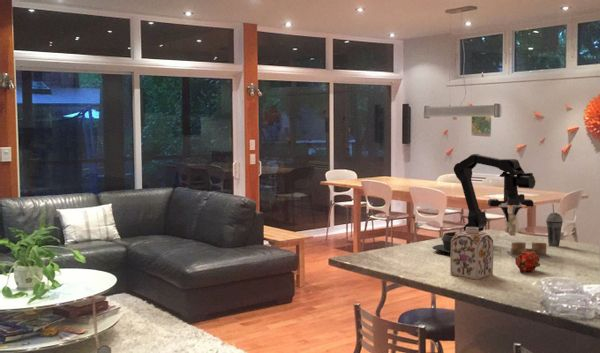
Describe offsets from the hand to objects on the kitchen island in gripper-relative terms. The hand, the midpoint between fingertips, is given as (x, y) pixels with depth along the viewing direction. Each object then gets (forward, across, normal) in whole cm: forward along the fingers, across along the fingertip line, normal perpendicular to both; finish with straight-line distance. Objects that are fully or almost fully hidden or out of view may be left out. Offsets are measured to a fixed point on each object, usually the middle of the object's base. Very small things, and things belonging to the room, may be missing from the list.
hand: (510, 222), depth 280 cm
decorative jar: (+13, -25, -50) cm, 58 cm away
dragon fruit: (+13, -3, -42) cm, 44 cm away
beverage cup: (+13, +22, +10) cm, 28 cm away
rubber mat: (+13, +5, -12) cm, 19 cm away
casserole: (+13, -23, -9) cm, 28 cm away
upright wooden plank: (+5, 0, 0) cm, 5 cm away
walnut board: (+12, +5, -12) cm, 18 cm away
